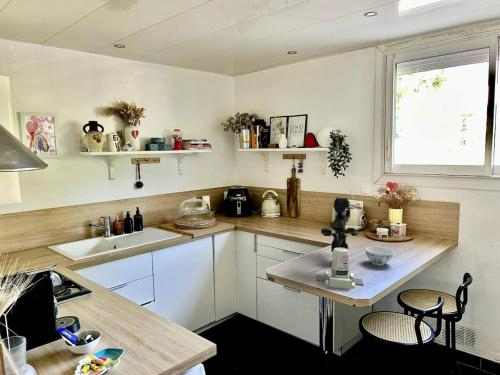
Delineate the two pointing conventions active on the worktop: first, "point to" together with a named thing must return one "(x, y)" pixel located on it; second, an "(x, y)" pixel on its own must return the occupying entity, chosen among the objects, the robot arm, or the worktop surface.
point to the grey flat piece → (340, 281)
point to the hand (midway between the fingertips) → (338, 247)
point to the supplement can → (340, 263)
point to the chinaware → (379, 255)
